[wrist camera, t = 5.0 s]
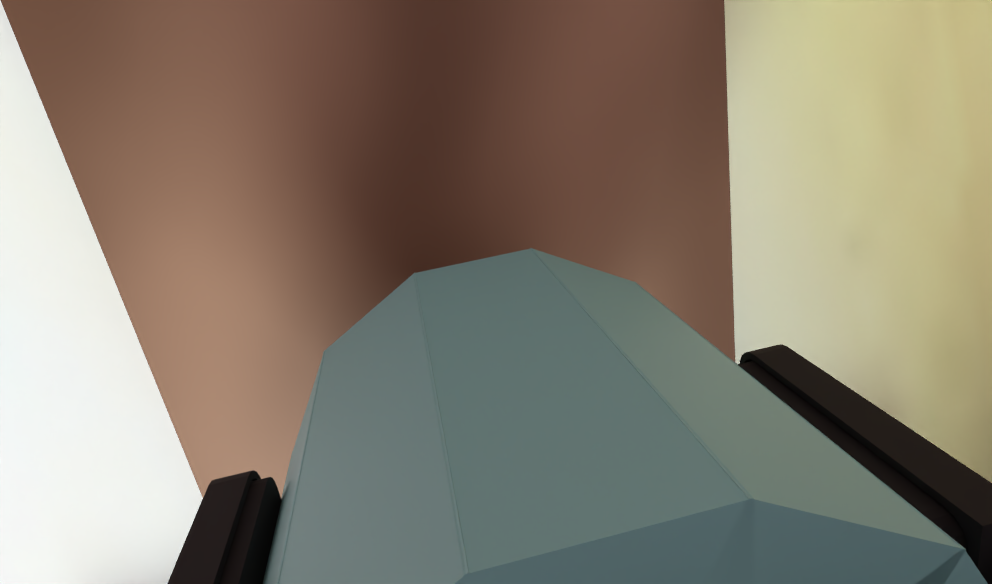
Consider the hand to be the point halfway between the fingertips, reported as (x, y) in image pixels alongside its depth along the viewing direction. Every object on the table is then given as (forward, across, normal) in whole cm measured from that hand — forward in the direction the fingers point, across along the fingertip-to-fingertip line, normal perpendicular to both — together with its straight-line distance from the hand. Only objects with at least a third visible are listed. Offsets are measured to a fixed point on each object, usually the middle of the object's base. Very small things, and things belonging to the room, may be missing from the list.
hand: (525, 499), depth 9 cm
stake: (+6, 0, -3) cm, 6 cm away
